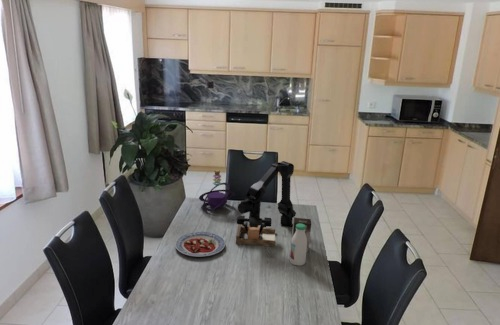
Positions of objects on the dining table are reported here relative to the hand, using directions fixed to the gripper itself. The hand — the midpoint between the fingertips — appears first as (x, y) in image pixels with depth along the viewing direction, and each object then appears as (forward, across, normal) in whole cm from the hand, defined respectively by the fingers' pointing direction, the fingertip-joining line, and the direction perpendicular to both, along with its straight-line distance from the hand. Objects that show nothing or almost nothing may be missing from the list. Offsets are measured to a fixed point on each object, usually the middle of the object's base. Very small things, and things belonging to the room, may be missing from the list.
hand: (253, 235), depth 211 cm
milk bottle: (+2, +23, -22) cm, 32 cm away
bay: (+2, +2, 0) cm, 2 cm away
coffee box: (+2, +25, -8) cm, 26 cm away
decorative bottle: (+2, -26, +38) cm, 46 cm away
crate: (+2, 0, 0) cm, 2 cm away
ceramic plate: (+2, -27, -14) cm, 30 cm away
